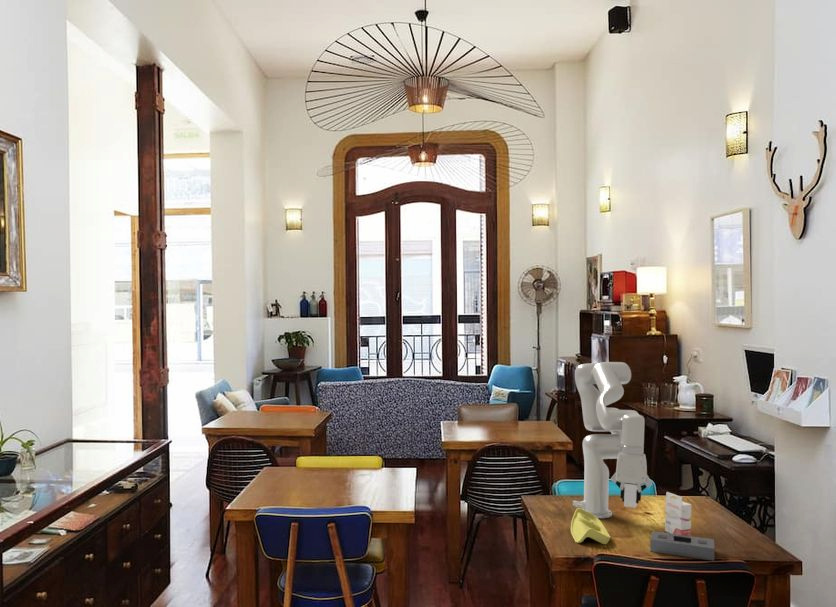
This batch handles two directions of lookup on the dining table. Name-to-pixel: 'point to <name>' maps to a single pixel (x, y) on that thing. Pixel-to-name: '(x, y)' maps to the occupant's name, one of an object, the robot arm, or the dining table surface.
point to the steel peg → (630, 495)
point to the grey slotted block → (682, 545)
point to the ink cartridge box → (677, 515)
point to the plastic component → (588, 527)
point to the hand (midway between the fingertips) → (630, 501)
